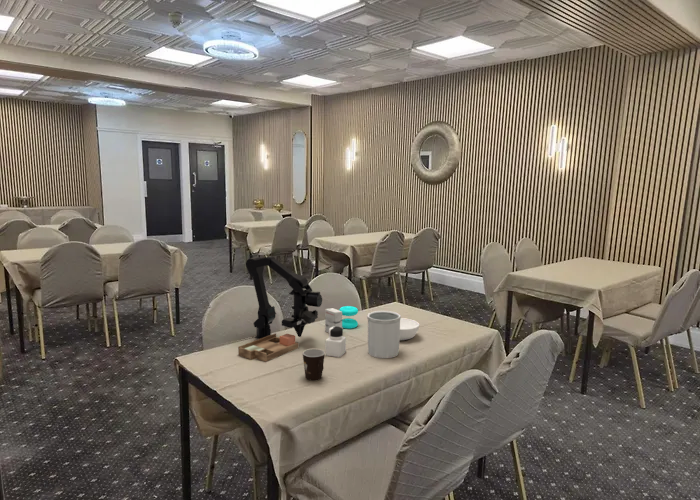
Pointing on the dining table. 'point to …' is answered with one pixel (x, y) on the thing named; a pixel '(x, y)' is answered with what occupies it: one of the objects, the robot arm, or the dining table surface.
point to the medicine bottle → (335, 342)
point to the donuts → (349, 322)
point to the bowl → (408, 328)
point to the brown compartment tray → (265, 348)
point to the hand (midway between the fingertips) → (299, 336)
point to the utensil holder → (383, 334)
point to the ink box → (332, 318)
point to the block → (287, 339)
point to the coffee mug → (313, 363)
